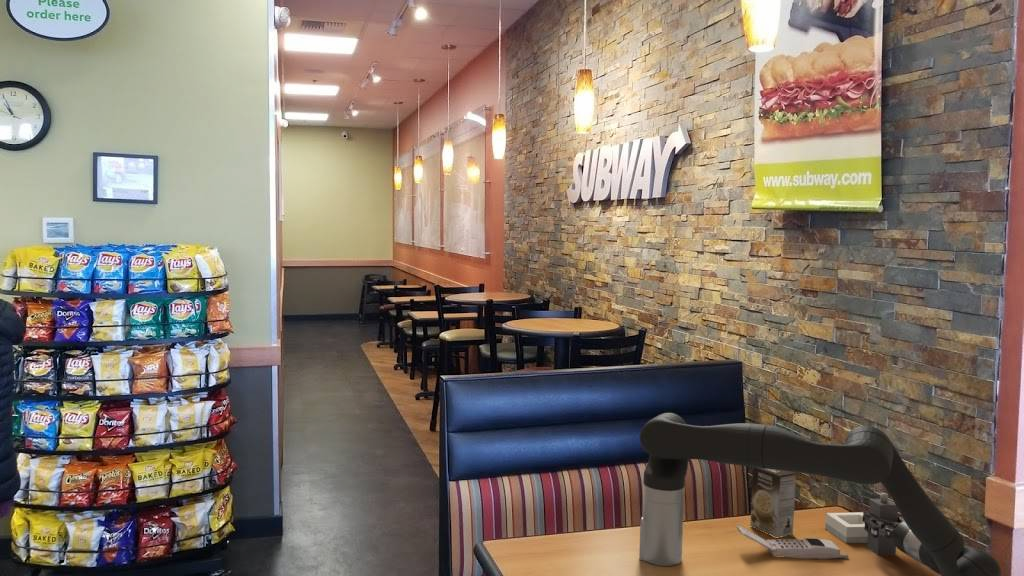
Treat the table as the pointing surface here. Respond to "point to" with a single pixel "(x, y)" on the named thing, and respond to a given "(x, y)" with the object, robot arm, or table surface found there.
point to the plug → (888, 512)
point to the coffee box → (773, 501)
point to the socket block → (847, 526)
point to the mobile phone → (797, 546)
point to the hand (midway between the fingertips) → (876, 516)
